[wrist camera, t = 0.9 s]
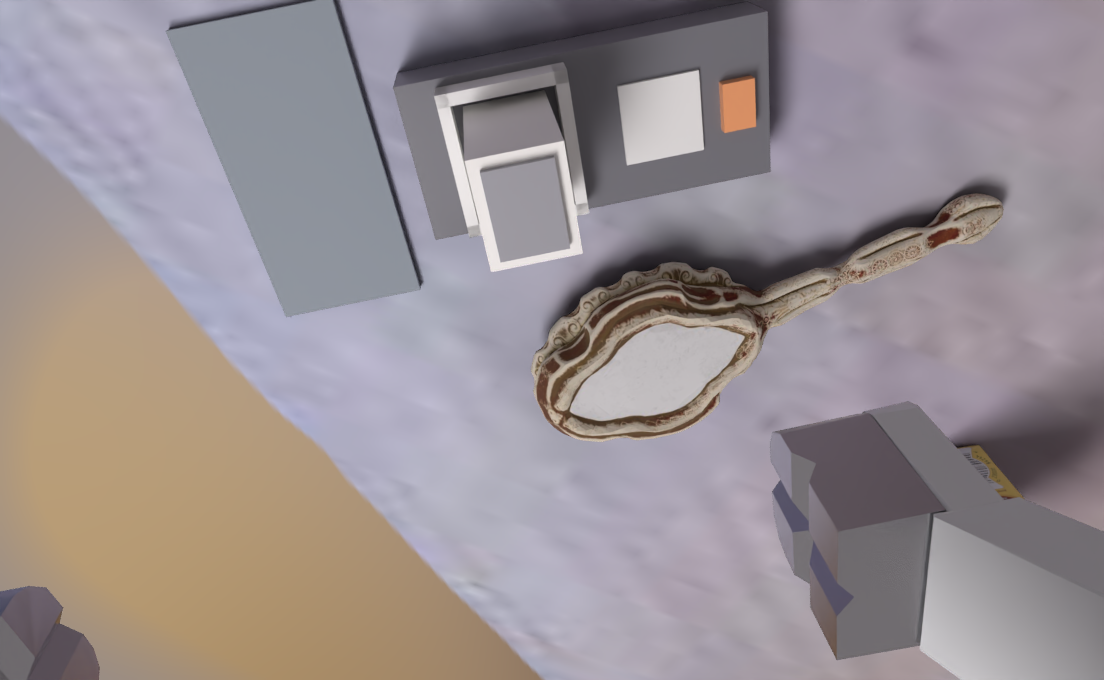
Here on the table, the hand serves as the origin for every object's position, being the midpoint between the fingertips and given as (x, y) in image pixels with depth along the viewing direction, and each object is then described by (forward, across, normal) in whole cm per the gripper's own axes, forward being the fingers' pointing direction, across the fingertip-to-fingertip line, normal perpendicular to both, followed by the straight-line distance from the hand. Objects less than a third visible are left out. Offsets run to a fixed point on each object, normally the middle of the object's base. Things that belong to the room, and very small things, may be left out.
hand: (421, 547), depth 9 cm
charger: (+32, -2, +5) cm, 32 cm away
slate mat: (+34, +9, +5) cm, 36 cm away
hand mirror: (+35, -15, +18) cm, 42 cm away
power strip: (+34, -6, +5) cm, 35 cm away
